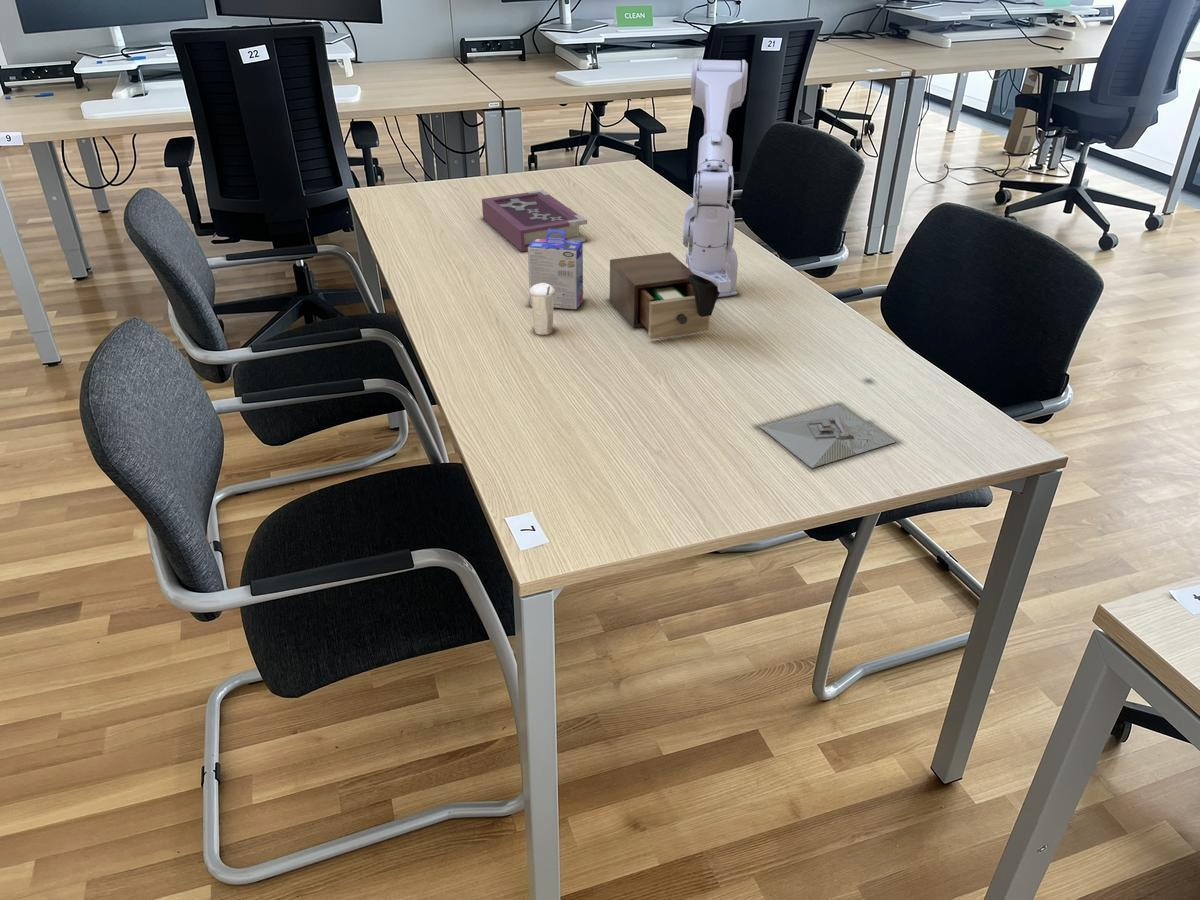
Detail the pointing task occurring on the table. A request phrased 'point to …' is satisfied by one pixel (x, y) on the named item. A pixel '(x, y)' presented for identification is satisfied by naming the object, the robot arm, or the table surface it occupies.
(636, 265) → the cabinet
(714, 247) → the robot arm
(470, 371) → the table surface
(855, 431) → the grey flat square slab
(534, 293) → the milkshake
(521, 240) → the book
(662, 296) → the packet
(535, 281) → the ink cartridge box
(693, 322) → the drawer
